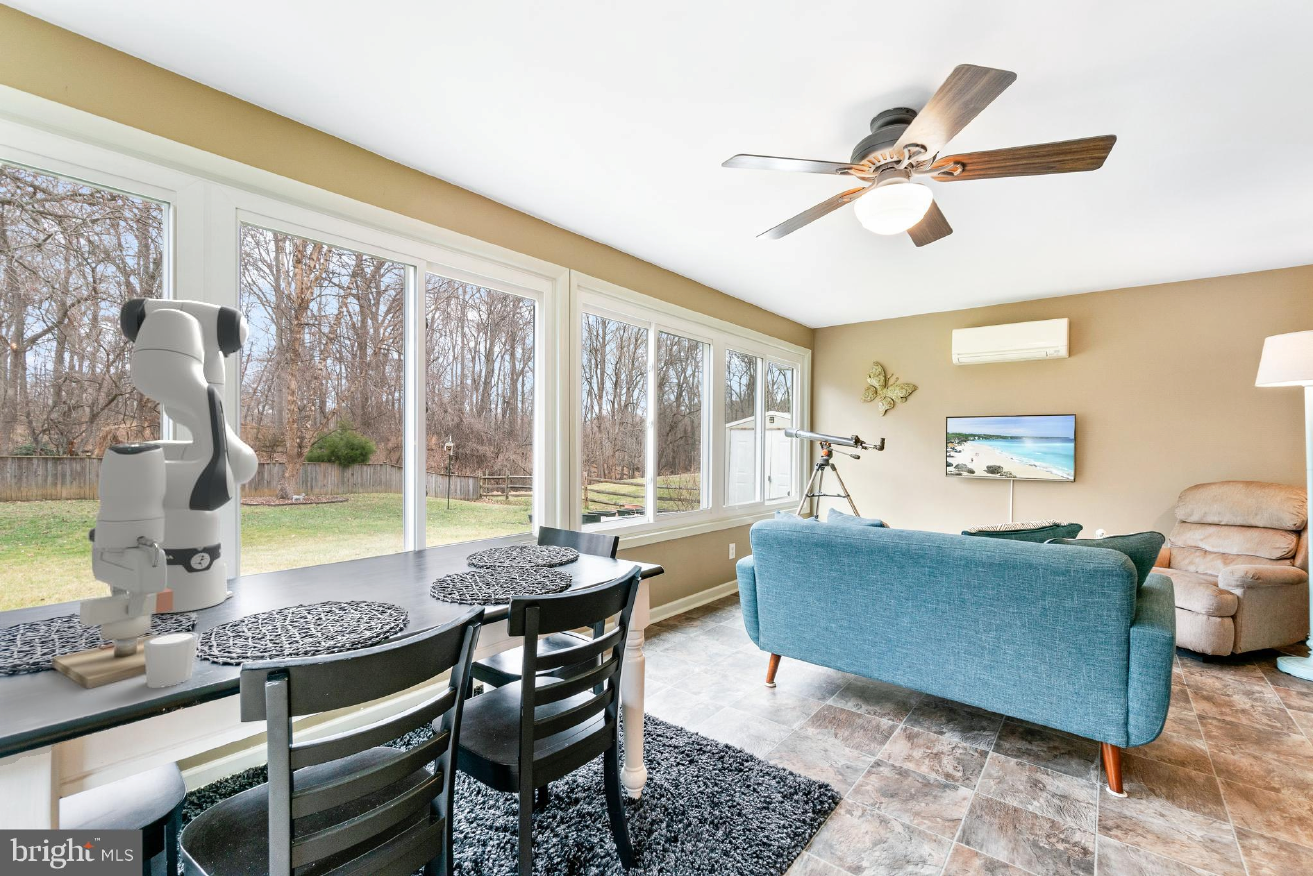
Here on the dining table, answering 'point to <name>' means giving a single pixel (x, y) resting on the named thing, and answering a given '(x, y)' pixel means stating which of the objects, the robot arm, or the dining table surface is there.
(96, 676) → the base plate
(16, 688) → the dining table surface
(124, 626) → the orange-ended white bar
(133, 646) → the post
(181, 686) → the dining table surface
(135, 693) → the dining table surface
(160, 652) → the white tapered cup
